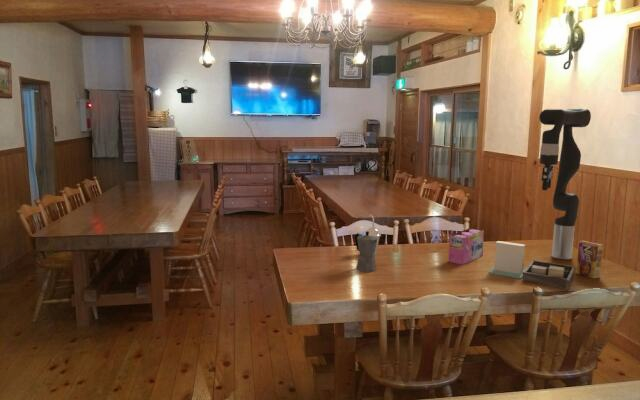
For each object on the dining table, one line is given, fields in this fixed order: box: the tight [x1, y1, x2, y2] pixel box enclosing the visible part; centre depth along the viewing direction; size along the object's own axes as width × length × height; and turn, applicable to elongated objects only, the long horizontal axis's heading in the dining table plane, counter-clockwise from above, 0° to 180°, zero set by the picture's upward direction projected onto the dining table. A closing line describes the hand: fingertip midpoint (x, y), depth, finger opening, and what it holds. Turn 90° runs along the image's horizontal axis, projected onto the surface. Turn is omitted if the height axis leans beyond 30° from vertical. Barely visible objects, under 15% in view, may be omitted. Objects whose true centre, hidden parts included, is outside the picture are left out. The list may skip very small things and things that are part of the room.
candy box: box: [575, 240, 604, 279], centre depth 219 cm, size 9×4×15 cm, turn 29°
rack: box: [521, 259, 575, 290], centre depth 214 cm, size 19×18×5 cm
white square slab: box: [493, 240, 526, 274], centre depth 223 cm, size 4×12×13 cm, turn 57°
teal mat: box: [488, 267, 526, 280], centre depth 224 cm, size 14×14×1 cm
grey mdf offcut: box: [531, 265, 547, 275], centre depth 212 cm, size 4×6×6 cm
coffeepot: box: [354, 230, 377, 273], centre depth 226 cm, size 15×9×18 cm, turn 33°
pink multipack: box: [448, 227, 485, 265], centre depth 245 cm, size 24×8×14 cm, turn 137°
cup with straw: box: [364, 213, 382, 256], centre depth 251 cm, size 8×9×20 cm
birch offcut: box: [548, 266, 564, 278], centre depth 209 cm, size 4×6×7 cm
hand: (546, 189), depth 223 cm, fingers open, 8 cm apart
